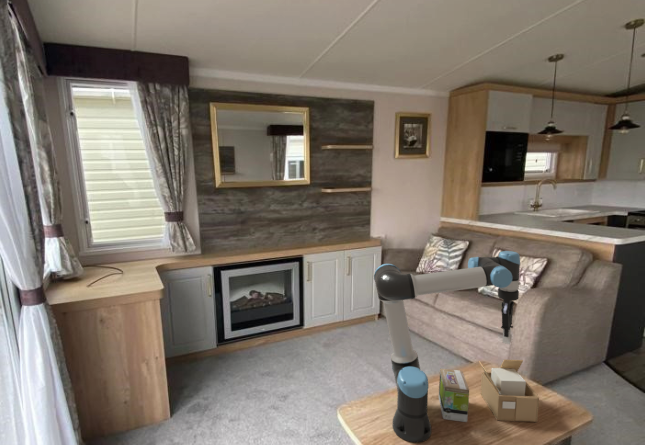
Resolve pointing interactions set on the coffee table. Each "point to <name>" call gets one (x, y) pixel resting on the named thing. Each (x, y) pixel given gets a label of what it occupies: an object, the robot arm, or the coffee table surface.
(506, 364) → the flap far
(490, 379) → the flap left
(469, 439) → the coffee table surface
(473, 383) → the coffee table surface
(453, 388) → the tea box
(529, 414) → the carton
